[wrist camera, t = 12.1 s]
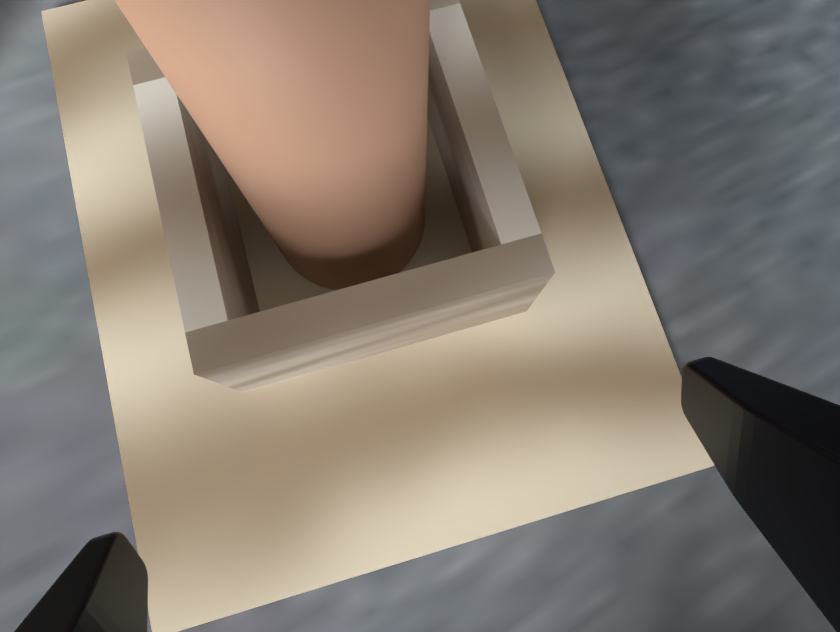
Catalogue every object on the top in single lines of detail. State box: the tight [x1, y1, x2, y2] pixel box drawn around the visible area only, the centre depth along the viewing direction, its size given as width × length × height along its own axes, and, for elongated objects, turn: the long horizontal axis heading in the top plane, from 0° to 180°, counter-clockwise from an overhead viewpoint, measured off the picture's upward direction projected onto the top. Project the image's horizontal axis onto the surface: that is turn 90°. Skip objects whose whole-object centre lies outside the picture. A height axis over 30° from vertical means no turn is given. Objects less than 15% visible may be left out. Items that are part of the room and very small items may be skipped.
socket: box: [41, 0, 715, 632], centre depth 17 cm, size 20×16×5 cm
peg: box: [115, 0, 430, 290], centre depth 13 cm, size 5×5×12 cm
